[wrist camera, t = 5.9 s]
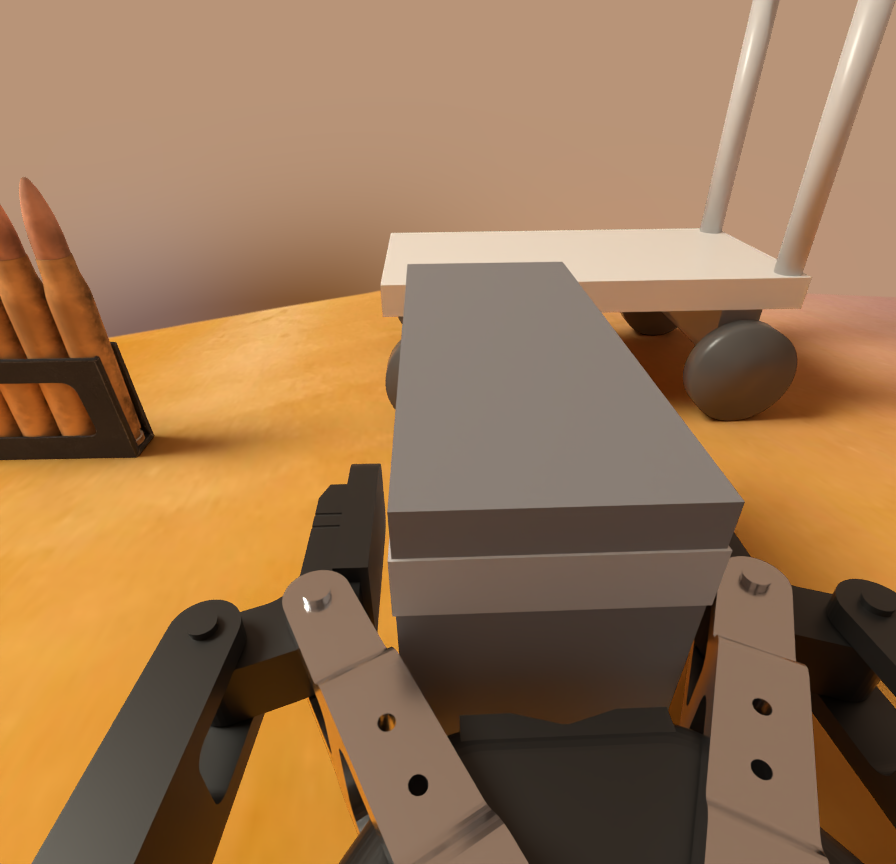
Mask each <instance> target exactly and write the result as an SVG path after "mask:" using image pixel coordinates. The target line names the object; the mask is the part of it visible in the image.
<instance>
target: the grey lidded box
mask: <svg viewBox="0 0 896 864" xmlns="http://www.w3.org/2000/svg"><path fill="white" fill-rule="evenodd" d="M744 503H745V502H744V500H743V499H742V498H741V496H740V495H739V494H738V492H737V491H736V490H735V488H734V487H733V486H732V484H731V483H730V482H729V480H728V479H727V478H726V476H725V475H724V474H723V473H722V471H721V470H720V469H719V467H718V466H717V465H716V463H715V462H714V461H713V459H712V458H711V457H710V455H709V454H708V453H707V451H706V450H705V449H704V447H703V446H702V445H701V444H700V442H699V441H698V440H697V438H696V437H695V436H694V434H693V433H692V432H691V430H690V429H689V428H688V426H687V425H686V424H685V422H684V421H683V420H682V418H681V417H680V416H679V415H678V413H677V412H676V411H675V409H674V408H673V407H672V405H671V404H670V403H669V401H668V400H667V399H666V397H665V396H664V395H663V393H662V392H661V391H660V389H659V388H658V387H657V386H656V384H655V383H654V382H653V380H652V379H651V378H650V376H649V375H648V374H647V372H646V371H645V370H644V368H643V367H642V366H641V364H640V363H639V362H638V360H637V359H636V358H635V357H634V355H633V354H632V353H631V351H630V350H629V349H628V347H627V346H626V345H625V343H624V342H623V341H622V339H621V338H620V337H619V335H618V334H617V333H616V331H615V330H614V329H613V328H612V326H611V325H610V324H609V322H608V321H607V320H606V318H605V317H604V316H603V314H602V313H601V312H600V310H599V309H598V308H597V306H596V305H595V304H594V302H593V301H592V300H591V299H590V297H589V296H588V295H587V293H586V292H585V291H584V289H583V288H582V287H581V285H580V284H579V283H578V281H577V280H576V279H575V277H574V276H573V275H572V273H571V272H570V271H569V270H568V268H567V267H566V266H565V264H564V263H563V262H509V263H445V264H407V275H406V288H405V300H404V313H403V325H402V338H401V350H400V362H399V375H398V387H397V400H396V412H395V425H394V437H393V449H392V462H391V474H390V487H389V499H388V512H387V513H388V525H389V537H390V538H389V552H388V570H389V581H390V593H391V604H392V615H393V616H396V621H397V633H398V645H399V655H400V657H401V658H402V660H403V662H404V663H405V665H406V667H407V669H408V670H409V672H410V674H411V675H412V677H413V679H414V681H415V682H416V684H417V686H418V687H419V689H420V691H421V692H422V694H423V696H424V698H425V699H426V701H427V703H428V704H429V706H430V708H431V710H432V711H433V713H434V715H435V716H436V718H437V720H438V722H439V723H440V725H441V727H442V728H443V730H444V732H445V734H446V735H447V736H448V735H451V734H454V733H457V732H459V715H478V714H502V713H512V714H517V715H522V716H527V717H531V718H536V719H541V720H545V721H550V722H555V723H560V724H571V723H574V722H577V721H580V720H583V719H586V718H589V717H592V716H595V715H599V714H602V713H605V712H608V711H611V710H614V709H623V708H647V707H667V709H668V708H669V706H670V703H671V700H672V698H673V695H674V692H675V690H676V687H677V684H678V681H679V679H680V676H681V673H682V671H683V668H684V665H685V662H686V660H687V657H688V654H689V652H690V649H691V646H692V643H693V641H694V638H695V635H696V633H697V630H698V627H699V625H700V622H701V619H702V616H703V614H704V611H705V608H706V606H707V605H712V604H713V601H714V598H715V596H716V593H717V590H718V588H719V585H720V583H721V580H722V577H723V575H724V572H725V569H726V567H727V564H728V561H729V559H730V556H731V553H732V549H731V548H730V546H729V543H730V541H731V538H732V535H733V532H734V530H735V527H736V524H737V522H738V519H739V516H740V513H741V511H742V508H743V505H744Z"/></svg>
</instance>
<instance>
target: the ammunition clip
mask: <svg viewBox="0 0 896 864" xmlns="http://www.w3.org/2000/svg"><path fill="white" fill-rule="evenodd" d="M19 197H20V205H21V211H22V216H23V221H24V224H25V228H26V232H27V235H28V239H29V241H30V244H31V247H32V249H33V252H34V254H35V257H36V262H37V265H38V268H39V271H40V274H41V276H42V280H43V283H42V281H41V280H40V278H39V277H38V276H37V274H36V272H35V270H34V268H33V266H32V264H31V262H30V260H29V257H28V255H27V254H26V253H25V251H24V248H23V246H22V244H21V241H20V239H19V237H18V235H17V233H16V231H15V229H14V227H13V225H12V223H11V221H10V220H9V218H8V216H7V214H6V213H5V211H4V210H3V208H2V206H1V205H0V460H27V459H82V458H137V456H138V455H140V453H141V452H142V451H143V449H144V448H145V447H146V446H147V444H148V443H149V442H150V440H151V439H152V438H153V436H154V434H153V432H152V429H151V427H150V424H149V422H148V419H147V417H146V415H145V412H144V410H143V407H142V405H141V402H140V400H139V398H138V395H137V393H136V390H135V388H134V385H133V383H132V380H131V378H130V375H129V373H128V370H127V368H126V365H125V363H124V360H123V358H122V355H121V353H120V350H119V348H118V345H117V343H116V342H110V341H109V339H108V336H107V333H106V330H105V328H104V325H103V322H102V320H101V317H100V314H99V312H98V309H97V307H96V303H95V301H94V298H93V295H92V293H91V291H90V288H89V287H88V285H87V283H86V282H85V280H84V278H83V277H82V275H81V273H80V272H79V269H78V267H77V265H76V262H75V260H74V257H73V255H72V253H71V252H70V250H69V247H68V245H67V242H66V239H65V237H64V235H63V232H62V230H61V228H60V226H59V224H58V222H57V220H56V218H55V216H54V214H53V212H52V211H51V209H50V207H49V206H48V204H47V203H46V201H45V199H44V198H43V196H42V195H41V193H40V192H39V191H38V189H37V188H36V187H35V186H34V185H33V184H32V183H31V181H30V180H29V179H27V178H26V177H22V178H21V179H20V185H19Z"/></svg>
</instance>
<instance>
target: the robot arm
mask: <svg viewBox="0 0 896 864" xmlns="http://www.w3.org/2000/svg"><path fill="white" fill-rule="evenodd" d="M385 527H386V520H385V503H384V492H383V481H382V470H381V464H352V465H351V468H350V473H349V478H348V484H338V485H330V486H329V487H328V488H327V490H326V491H325V492H324V493H323V494H322V495H321V497H320V498H319V501H318V505H317V509H316V513H315V517H314V521H313V525H312V529H311V533H310V537H309V541H308V545H307V550H306V554H305V558H304V562H303V566H302V570H301V574H300V577H298V578H297V579H295V580H294V581H293V582H292V583H291V584H290V585H289V586H288V587H287V589H286V590H285V592H284V595H283V596H282V597H281V598H279V599H278V600H275V601H273V602H271V603H268V604H266V605H263V606H259V607H256V608H252V609H249V610H246V611H242V612H239V610H238V608H237V607H236V606H235V605H234V604H232V603H230V602H227V601H224V600H208V601H204V602H200V603H198V604H195V605H193V606H191V607H189V608H187V609H186V610H184V611H183V612H181V613H180V614H179V615H178V616H177V617H176V618H175V619H174V620H173V621H172V623H171V624H170V626H169V627H168V629H167V631H166V632H165V634H164V636H163V637H162V639H161V641H160V643H159V644H158V646H157V648H156V650H155V651H154V653H153V655H152V656H151V658H150V660H149V662H148V663H147V665H146V667H145V669H144V670H143V672H142V674H141V675H140V677H139V679H138V681H137V682H136V684H135V686H134V688H133V689H132V691H131V693H130V694H129V696H128V698H127V700H126V701H125V703H124V705H123V707H122V708H121V710H120V712H119V713H118V715H117V717H116V719H115V720H114V722H113V724H112V726H111V727H110V729H109V731H108V732H107V734H106V736H105V738H104V739H103V741H102V743H101V745H100V746H99V748H98V750H97V752H96V753H95V755H94V757H93V758H92V760H91V762H90V764H89V765H88V767H87V769H86V771H85V772H84V774H83V776H82V777H81V779H80V781H79V783H78V784H77V786H76V788H75V790H74V791H73V793H72V795H71V796H70V798H69V800H68V802H67V803H66V805H65V807H64V809H63V810H62V812H61V814H60V815H59V817H58V819H57V821H56V822H55V824H54V826H53V828H52V829H51V831H50V833H49V834H48V836H47V838H46V840H45V841H44V843H43V845H42V847H41V848H40V850H39V852H38V853H37V855H36V857H35V859H34V860H33V862H32V864H212V863H213V860H214V857H215V854H216V851H217V848H218V845H219V843H220V840H221V837H222V834H223V831H224V828H225V825H226V822H227V820H228V817H229V814H230V811H231V808H232V805H233V802H234V800H235V797H236V794H237V791H238V788H239V785H240V782H241V780H242V777H243V774H244V771H245V768H246V765H247V762H248V759H249V757H250V754H251V751H252V748H253V745H254V742H255V739H256V737H257V734H258V731H259V728H260V725H261V722H262V719H263V717H264V714H265V713H266V712H269V711H272V710H275V709H277V708H280V707H283V706H286V705H288V704H291V703H294V702H297V701H300V700H302V699H305V698H307V700H308V703H309V705H310V708H311V710H312V713H313V715H314V718H315V720H316V723H317V726H318V728H319V731H320V733H321V736H322V738H323V741H324V743H325V746H326V748H327V751H328V754H329V756H330V759H331V761H332V764H333V767H334V770H335V773H336V776H337V779H338V782H339V785H340V788H341V791H342V794H343V797H344V800H345V803H346V805H347V808H348V811H349V813H350V816H351V818H352V821H353V824H354V826H355V829H356V831H357V834H358V837H357V838H356V839H355V841H354V842H353V844H352V845H351V847H350V848H349V850H348V851H347V852H346V854H345V855H344V857H343V858H342V860H341V861H340V862H339V864H864V863H863V862H861V861H860V860H859V859H858V858H857V857H855V856H854V855H853V854H852V853H851V852H849V851H848V850H847V849H846V848H845V847H844V846H842V845H841V844H840V843H839V842H838V841H836V840H835V839H834V838H833V837H832V836H830V835H829V834H828V833H827V832H826V831H825V830H823V829H822V828H821V827H820V824H819V810H818V795H817V781H816V767H815V752H814V738H813V723H812V713H813V714H814V715H815V717H816V718H817V720H818V721H819V722H820V724H821V725H822V727H823V728H824V729H825V731H826V732H827V733H828V735H829V736H830V738H831V739H832V740H833V742H834V743H835V745H836V746H837V747H838V749H839V750H840V752H841V753H842V754H843V756H844V757H845V759H846V760H847V761H848V763H849V764H850V766H851V767H852V768H853V770H854V771H855V773H856V774H857V775H858V777H859V778H860V779H861V781H862V782H863V784H864V785H865V786H866V788H867V789H868V791H869V792H870V793H871V795H872V796H873V798H874V799H875V800H876V802H877V803H878V805H879V806H880V807H881V809H882V810H883V812H884V813H885V814H886V816H887V817H888V819H889V820H890V821H891V823H892V824H893V826H894V827H895V828H896V709H895V707H894V706H893V705H892V704H891V703H890V702H889V700H888V699H887V698H886V697H885V696H884V695H883V693H882V692H881V691H880V690H879V689H878V687H877V684H878V683H879V682H880V680H882V682H883V683H884V684H885V685H886V686H887V687H888V689H889V690H890V691H891V692H892V693H893V694H894V695H895V697H896V593H895V592H894V591H892V590H890V589H888V588H886V587H884V586H882V585H880V584H877V583H874V582H871V581H867V580H862V579H849V580H845V581H842V582H841V583H839V584H838V586H837V587H836V589H835V591H834V593H833V594H829V593H824V592H820V591H815V590H810V589H805V588H800V587H796V586H792V585H791V584H790V582H789V581H788V579H787V578H786V577H785V576H784V574H783V573H781V572H780V571H779V570H778V569H776V568H775V567H774V566H772V565H770V564H768V563H766V562H764V561H762V560H759V559H756V558H752V557H751V556H750V555H749V554H748V552H747V551H746V549H745V548H744V546H743V545H742V543H741V542H740V540H739V539H738V537H737V536H736V535H735V533H734V532H733V535H732V538H731V541H730V543H729V546H730V548H731V549H732V553H731V556H730V559H729V561H728V564H727V567H726V569H725V572H724V575H723V577H722V580H721V583H720V585H719V588H718V590H717V593H716V596H715V598H714V601H713V604H712V605H707V606H706V608H705V611H704V614H703V616H702V619H701V622H700V625H699V627H698V630H697V633H696V635H695V638H694V641H693V643H692V646H691V649H690V653H689V660H688V667H687V675H686V682H685V690H684V697H683V705H682V712H681V718H680V723H679V725H675V724H673V722H672V720H671V717H670V715H669V712H668V709H667V707H647V708H623V709H614V710H611V711H608V712H605V713H602V714H599V715H595V716H592V717H589V718H586V719H583V720H580V721H577V722H574V723H571V724H560V723H555V722H550V721H545V720H541V719H536V718H531V717H527V716H522V715H517V714H512V713H502V714H478V715H459V732H457V733H454V734H451V735H448V736H447V735H446V734H445V732H444V730H443V728H442V727H441V725H440V723H439V722H438V720H437V718H436V716H435V715H434V713H433V711H432V710H431V708H430V706H429V704H428V703H427V701H426V699H425V698H424V696H423V694H422V692H421V691H420V689H419V687H418V686H417V684H416V682H415V681H414V679H413V677H412V675H411V674H410V672H409V670H408V669H407V667H406V665H405V663H404V662H403V660H402V658H401V657H400V655H399V654H398V652H397V651H396V650H395V649H394V648H393V647H390V648H388V649H387V648H386V647H385V645H384V644H383V642H382V640H381V638H380V637H379V635H378V633H377V630H378V617H379V605H380V593H381V580H382V568H383V556H384V543H385Z"/></svg>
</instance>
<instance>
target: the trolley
mask: <svg viewBox="0 0 896 864" xmlns="http://www.w3.org/2000/svg"><path fill="white" fill-rule="evenodd" d="M894 3H895V0H858V2H857V5H856V9H855V12H854V15H853V18H852V22H851V25H850V28H849V31H848V34H847V38H846V41H845V44H844V47H843V50H842V54H841V57H840V60H839V64H838V67H837V70H836V73H835V76H834V79H833V82H832V85H831V89H830V92H829V95H828V98H827V102H826V105H825V108H824V111H823V115H822V117H821V121H820V124H819V127H818V131H817V134H816V137H815V140H814V143H813V146H812V150H811V153H810V156H809V159H808V162H807V166H806V169H805V172H804V175H803V179H802V182H801V185H800V188H799V192H798V194H797V198H796V201H795V204H794V207H793V210H792V214H791V217H790V220H789V223H788V226H787V230H786V233H785V236H784V239H783V242H782V246H781V249H780V252H779V255H778V258H777V259H775V258H773V257H771V256H769V255H767V254H765V253H763V252H761V251H759V250H757V249H756V248H754V247H752V246H750V245H748V244H746V243H744V242H742V241H740V240H738V239H736V238H734V237H732V236H730V235H728V234H726V233H724V232H722V226H723V223H724V219H725V215H726V211H727V207H728V203H729V199H730V195H731V191H732V187H733V183H734V179H735V175H736V171H737V167H738V163H739V159H740V155H741V151H742V148H743V144H744V140H745V136H746V132H747V128H748V124H749V120H750V116H751V112H752V108H753V104H754V100H755V96H756V92H757V88H758V84H759V79H760V76H761V71H762V68H763V64H764V60H765V56H766V52H767V48H768V44H769V40H770V36H771V32H772V28H773V24H774V20H775V16H776V12H777V8H778V4H779V0H753V2H752V7H751V11H750V16H749V20H748V24H747V28H746V33H745V37H744V41H743V46H742V50H741V54H740V59H739V63H738V67H737V72H736V76H735V80H734V85H733V89H732V93H731V98H730V102H729V106H728V111H727V115H726V119H725V124H724V128H723V132H722V137H721V141H720V145H719V150H718V154H717V158H716V163H715V167H714V171H713V176H712V180H711V184H710V189H709V193H708V197H707V202H706V206H705V210H704V215H703V219H702V223H701V228H693V229H692V228H691V229H632V230H631V229H630V230H628V229H627V230H567V231H565V230H563V231H501V232H500V231H499V232H498V231H497V232H432V233H391V236H390V241H389V246H388V251H387V256H386V260H385V265H384V271H383V275H382V281H381V299H382V313H383V317H398V318H399V320H400V321H401V323H402V324H403V313H404V300H405V288H406V275H407V264H445V263H509V262H563V263H564V264H565V266H566V267H567V268H568V270H569V271H570V272H571V273H572V275H573V276H574V277H575V279H576V280H577V281H578V283H579V284H580V285H581V287H582V288H583V289H584V291H585V292H586V293H587V295H588V296H589V297H590V299H591V300H592V301H593V302H594V304H595V305H596V306H597V308H598V309H599V310H600V312H620V313H621V315H622V316H623V318H624V319H625V320H626V321H627V323H628V324H629V325H630V326H631V327H632V328H633V329H634V330H636V331H638V332H640V333H642V334H646V335H660V334H664V333H667V332H670V331H672V330H674V329H676V328H679V329H680V330H681V331H682V332H683V333H684V334H685V335H686V336H687V337H688V338H689V339H690V340H691V341H692V342H693V343H694V344H695V345H696V346H695V347H694V348H693V350H692V351H691V353H690V354H689V356H688V358H687V360H686V363H685V366H684V371H683V384H684V387H685V390H686V392H687V394H688V395H689V397H690V398H691V399H692V400H693V402H694V403H695V404H696V405H697V406H698V407H699V409H700V410H701V411H702V412H703V413H705V414H706V415H708V416H710V417H712V418H715V419H718V420H724V421H733V420H741V419H745V418H748V417H751V416H754V415H756V414H758V413H760V412H762V411H764V410H766V409H767V408H769V407H770V406H771V405H773V404H774V403H775V402H776V401H777V400H778V399H779V398H780V397H781V396H782V395H783V394H784V393H785V392H786V390H787V389H788V387H789V386H790V384H791V382H792V380H793V378H794V376H795V372H796V368H797V354H796V351H795V348H794V346H793V344H792V343H791V342H790V340H789V339H788V338H787V337H785V336H784V335H783V334H781V333H780V332H778V331H777V330H776V329H774V328H773V327H771V326H770V325H768V324H766V323H764V322H761V321H759V319H760V315H761V312H762V309H801V307H802V304H803V302H804V299H805V296H806V293H807V290H808V287H809V284H810V281H811V279H812V278H811V277H810V276H808V275H806V274H804V273H803V270H804V267H805V264H806V261H807V258H808V255H809V252H810V249H811V246H812V244H813V241H814V238H815V234H816V232H817V229H818V226H819V223H820V220H821V217H822V214H823V211H824V208H825V205H826V202H827V199H828V197H829V193H830V191H831V188H832V185H833V182H834V179H835V176H836V173H837V170H838V167H839V164H840V161H841V158H842V156H843V153H844V149H845V147H846V144H847V141H848V138H849V135H850V132H851V129H852V126H853V123H854V120H855V117H856V114H857V112H858V109H859V106H860V103H861V100H862V97H863V94H864V91H865V88H866V85H867V82H868V79H869V76H870V73H871V70H872V67H873V65H874V62H875V59H876V56H877V53H878V50H879V47H880V44H881V41H882V38H883V35H884V33H885V30H886V27H887V24H888V21H889V18H890V15H891V12H892V9H893V6H894ZM400 350H401V340H400V341H399V342H398V344H397V345H396V346H395V348H394V349H393V351H392V353H391V355H390V357H389V360H388V365H387V372H386V391H387V395H388V398H389V400H390V402H391V404H392V405H393V407H394V408H395V409H396V400H397V387H398V375H399V362H400Z"/></svg>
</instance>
